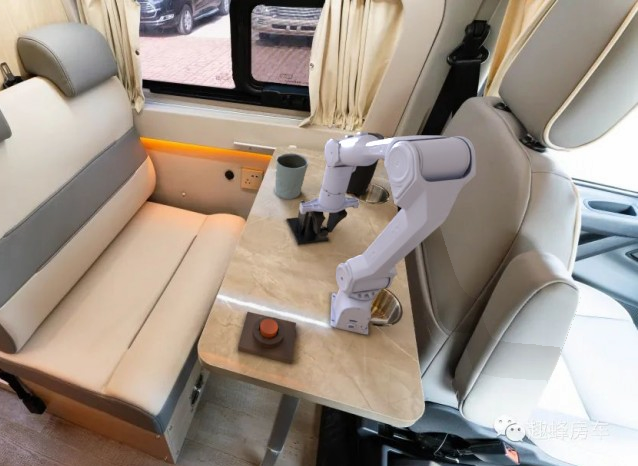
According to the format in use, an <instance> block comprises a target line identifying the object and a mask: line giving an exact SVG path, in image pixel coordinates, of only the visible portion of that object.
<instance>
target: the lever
mask: <svg viewBox="0 0 638 466" xmlns="http://www.w3.org/2000/svg"><path fill="white" fill-rule="evenodd" d="M308 216H312V214H311V212H309V215H308ZM312 218H313V217H312ZM318 236H319V237H321V238H324V237H328V236H329V230H328V228H327V227H326V226H324V225H323V224H322V226H321V230H320V233H319V234H318Z"/></svg>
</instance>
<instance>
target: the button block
mask: <svg viewBox="0 0 638 466" xmlns="http://www.w3.org/2000/svg"><path fill="white" fill-rule="evenodd" d="M265 319H272V320H274V321H275V322H276V323H277V325H278V330H277V334H276V336H275V337H273V338H266V337H264V336H263V335H262V334H261V332H260V325H261V322H262V321H263V320H265ZM296 327H297V322H294V321H291V320H286V319H281V318H278V317H272V316H270V315H264V314H259V313H256V312H251V311H247V312H246V315H245V319H244V323H243V326H242V330H241V334H240V337H239V342H238V344H237V351H238V352H242V353H245V354H249V355H252V356H253V355H254V356H257V357H259V358H260V357H261V358H265V359H268V360H272V361H276V362H281V363H285V364H287V365H290V364H291V362H292V357H293V349H294V343H295V336H296V334H295V333H296Z"/></svg>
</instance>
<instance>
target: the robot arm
mask: <svg viewBox="0 0 638 466" xmlns="http://www.w3.org/2000/svg"><path fill="white" fill-rule="evenodd" d="M368 133H369V132H368V131H361V132H357V133H356V136H354V134H348V135H345V137H344V138H330V139H328V140H327V142H326V143H325V146H324V161H325V164H326V165H325V168H324V174H323V178H322V182H321V186H320V190H319V196H318V197H316V198H313V199H311V200H309V201H305V203H301V202H300V203H299V207H298V211H299V210H300V212H301V214H306V212H311V214H312V217H313V223H314V231H315V233H316V234H319V233H320V230H321V226H322V225H323V224H324V222H325V220H326V219H327V221H326V226H325V227H327V228H328V230H329V233H330V234H331V233H333V231H334V229H335V228H336V227H337V225H338V224H339V223H340V222H342V220H344V219H345V218H346V217H347V215H348V212H347V210H346V209H348V208H353V209H358V208H359V205H360V203H361V201H360V200H359V199H358V198H357V197H350V196H349V197H346V194H347V193H346V191H347V187H348V184H349V180H350V177H351V174H352V172H354V171H355V169H356V167H357V166H369V165H372V164H373V163H375V162H376V161H377V160H378V159H379V160H384V161H383V162H384V164H383V167H384V169H385V170H386V173H387V177H388V182H389V185H390V190H391V194H392V199H393V202H394V203H393V204H394V205H396V206H397V207H399V208H401V209H400V210H399V211H398V212H397V213H396V215H395V216H394V217H393V218H392V219H391V220H390V221H389V223H388V224H387V225H386V226H385V227H384V228H383V229H382V231H381V232H380V233H379V235H378V236H377V237H375V238H374V240H373V241H372V243H371V244H370V245H369V246H368V248H367V249H365V250H364V252H363V253H361V254H360V255H356V256H354V257H352V258H351V257H350V258H349V259H347V260H346V261H345V262H340V263H339V264H338V265H337V267H336V269H335V281H336V285H337V286H338V291H337V293H335V292H332V293H331V302H330V320H329V321H330V323H329V326H330V327H331V328H334V329H339V330H344V331H347V332H352V333H357V334H361V335H366V336H368V335H369V323H370V321H371V318H372V304H373V302H374V300H375V298H376V296H377V294H379V293H381V292H382V289H384V290H385V289H388V288H390V287H391V286H392V284H393V280H394V278H395V277H396V276H397V275H398V271H397V267H396V266H397V265H398V264H399V263H400V262H401V261H402V260H403V259H404V258H405V257H406V256H408V255H409V254H410V253H411V252H412V251H413V250H414V249H415V248H417V246H418V245H420V244H421V243H422V242H423V241H424V240H426V239H427V238H428V237H429V236H430V235H431V234H432V233H433V232H434V231H436V229H438V228H439V227H440V226H441V225H442V224H444V222H445V221H446V220H447V218H448V216H449V215H450V213H451V210H452V208H453V206H454V204H455V202H456V200H457V197H458V196H459V193H460V191H461V189H463V188H464V187H465V186H466V184H468V183H469V182H470V181H471V180H472V179H473V178H474V177H475V176H476V175H477V156H476V155H477V153H476V150H475V146H474V144H473V143H472V141H471V140H470V139H469V138H467V137H465V136H462V135H457V136H456V135H455V136H451V137H448V136H446V135H422V134H421V135H419V134H418V135H406V136H405V135H404V136H403V135H402V136H394V137H388V138H384V139H382V140H378V139H377V138H376V137H375V136H373V135H368ZM379 160H378V161H379ZM324 213H328V218H326V216H325V215H324Z"/></svg>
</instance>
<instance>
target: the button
mask: <svg viewBox="0 0 638 466" xmlns="http://www.w3.org/2000/svg"><path fill="white" fill-rule="evenodd" d="M277 330H278V325H277V323H276V322H275V321H274V320H272V319H265V320H263V321H262V322H261V325H260V332H261V334H262V335H263V336H264V337H266V338H273V337H275V336H276V334H277Z"/></svg>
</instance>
